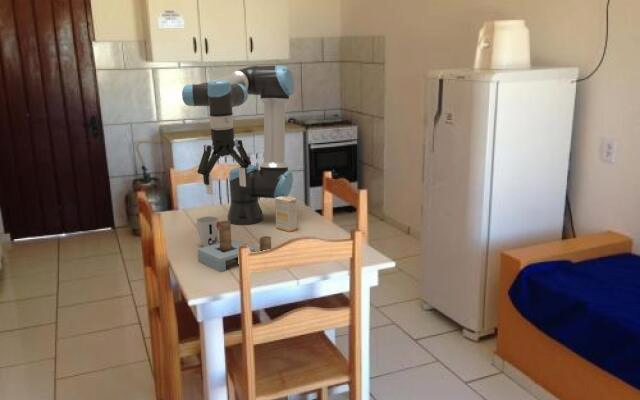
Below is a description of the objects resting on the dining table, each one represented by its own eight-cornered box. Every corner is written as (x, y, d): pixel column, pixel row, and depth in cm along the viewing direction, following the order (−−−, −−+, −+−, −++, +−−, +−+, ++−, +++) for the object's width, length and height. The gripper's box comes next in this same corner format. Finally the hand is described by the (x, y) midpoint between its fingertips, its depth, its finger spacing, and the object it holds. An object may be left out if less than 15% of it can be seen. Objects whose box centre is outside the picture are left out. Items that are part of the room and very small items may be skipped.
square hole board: (198, 261, 193) (197, 248, 192) (231, 251, 202) (231, 239, 201) (220, 271, 183) (220, 258, 182) (255, 260, 192) (254, 248, 191)
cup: (209, 249, 204) (207, 223, 202) (193, 246, 208) (191, 220, 206) (224, 243, 211) (223, 218, 208) (208, 240, 215) (206, 215, 212)
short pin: (258, 253, 199) (257, 237, 198) (266, 251, 202) (266, 235, 200) (264, 256, 196) (264, 240, 195) (273, 253, 199) (273, 237, 198)
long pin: (218, 261, 193) (216, 222, 189) (228, 258, 195) (225, 219, 192) (225, 264, 190) (222, 224, 186) (234, 261, 193) (232, 222, 189)
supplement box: (298, 229, 226) (297, 198, 223) (289, 232, 223) (288, 200, 219) (284, 225, 231) (283, 195, 228) (275, 228, 228) (274, 197, 225)
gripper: (195, 134, 175) (201, 199, 180) (258, 124, 191) (262, 184, 197) (183, 131, 180) (189, 195, 186) (245, 122, 196) (249, 181, 202)
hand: (226, 189), depth 191 cm, fingers open, 13 cm apart
